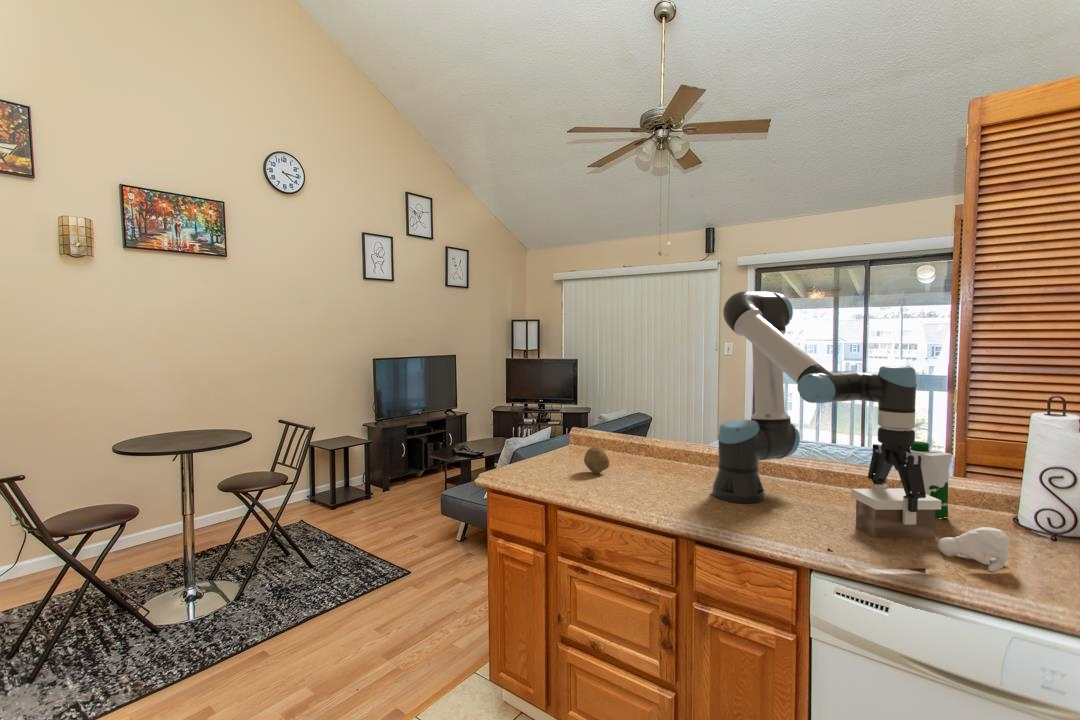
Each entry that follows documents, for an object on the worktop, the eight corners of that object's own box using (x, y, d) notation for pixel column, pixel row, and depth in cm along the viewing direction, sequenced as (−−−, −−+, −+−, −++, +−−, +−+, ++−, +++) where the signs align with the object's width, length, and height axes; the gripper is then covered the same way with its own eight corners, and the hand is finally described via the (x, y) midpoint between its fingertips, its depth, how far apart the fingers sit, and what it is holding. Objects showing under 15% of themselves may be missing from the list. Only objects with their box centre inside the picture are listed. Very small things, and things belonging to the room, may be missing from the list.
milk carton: (921, 508, 142) (923, 440, 142) (955, 519, 134) (957, 446, 133) (897, 511, 140) (899, 442, 139) (930, 523, 131) (932, 448, 130)
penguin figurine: (1008, 535, 101) (934, 525, 110) (1013, 576, 101) (938, 564, 109) (1008, 526, 106) (937, 518, 114) (1012, 566, 106) (941, 555, 114)
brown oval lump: (579, 471, 185) (579, 445, 184) (599, 468, 189) (599, 443, 188) (591, 477, 177) (591, 450, 176) (612, 474, 180) (612, 447, 180)
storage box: (855, 528, 128) (856, 498, 128) (910, 528, 128) (910, 497, 128) (876, 540, 120) (877, 508, 120) (934, 540, 120) (935, 508, 120)
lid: (851, 500, 129) (851, 488, 128) (911, 499, 128) (911, 488, 128) (875, 512, 119) (876, 500, 119) (941, 512, 119) (941, 500, 119)
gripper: (947, 436, 112) (945, 533, 113) (880, 420, 134) (879, 501, 135) (914, 436, 112) (912, 533, 113) (853, 420, 134) (851, 501, 135)
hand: (894, 516), depth 124 cm, fingers closed on lid, 10 cm apart
